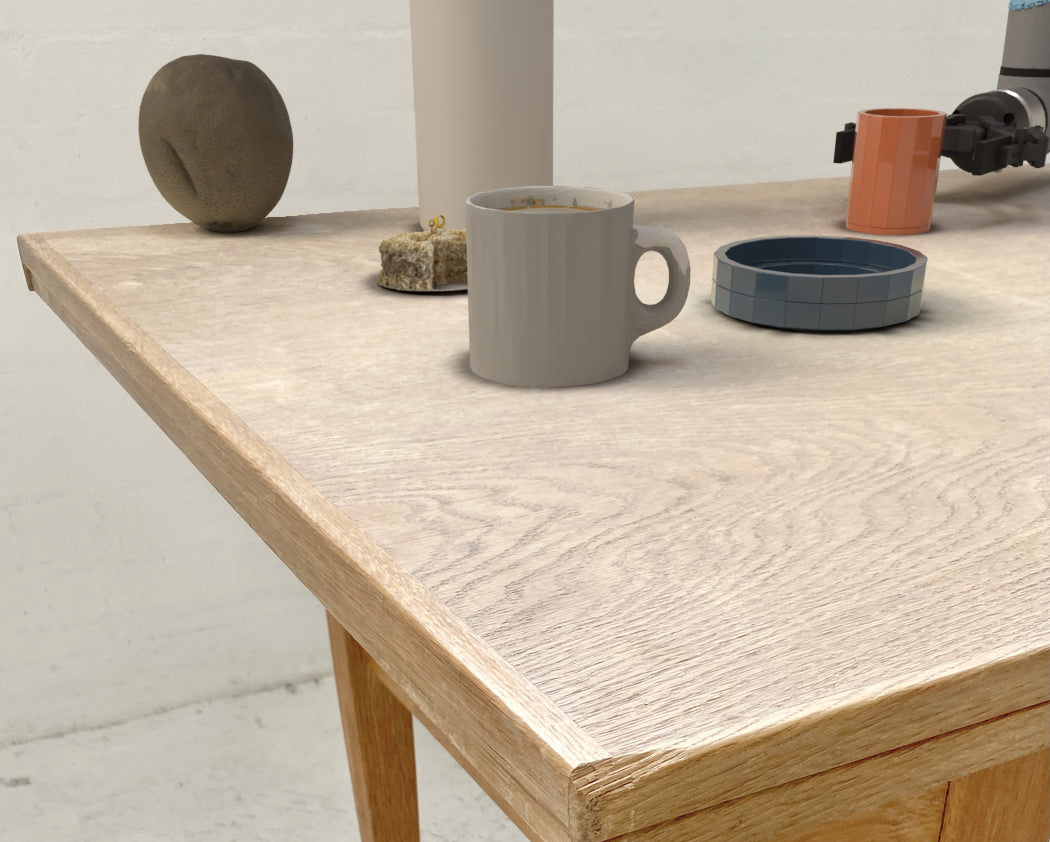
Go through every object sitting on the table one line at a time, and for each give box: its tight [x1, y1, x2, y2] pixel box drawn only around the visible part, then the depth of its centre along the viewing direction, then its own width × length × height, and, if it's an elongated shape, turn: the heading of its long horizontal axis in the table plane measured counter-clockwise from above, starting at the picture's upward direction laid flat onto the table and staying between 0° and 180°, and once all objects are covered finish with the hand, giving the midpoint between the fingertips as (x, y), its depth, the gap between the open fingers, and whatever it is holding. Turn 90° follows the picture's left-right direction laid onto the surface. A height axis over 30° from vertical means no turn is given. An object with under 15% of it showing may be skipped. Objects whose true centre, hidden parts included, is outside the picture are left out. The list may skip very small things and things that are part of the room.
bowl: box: [710, 234, 929, 332], centre depth 92 cm, size 15×15×4 cm
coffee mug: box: [466, 185, 691, 388], centre depth 78 cm, size 13×10×10 cm
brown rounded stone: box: [138, 53, 294, 233], centre depth 119 cm, size 14×14×15 cm
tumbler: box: [845, 107, 948, 236], centre depth 117 cm, size 8×8×10 cm
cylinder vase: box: [408, 0, 555, 231], centre depth 115 cm, size 12×12×25 cm
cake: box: [376, 215, 468, 293], centre depth 100 cm, size 10×10×5 cm
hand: (906, 153), depth 118 cm, fingers open, 13 cm apart
